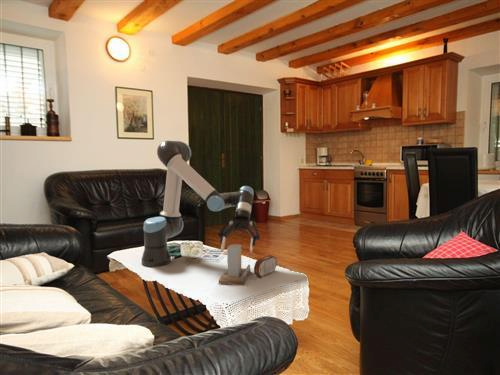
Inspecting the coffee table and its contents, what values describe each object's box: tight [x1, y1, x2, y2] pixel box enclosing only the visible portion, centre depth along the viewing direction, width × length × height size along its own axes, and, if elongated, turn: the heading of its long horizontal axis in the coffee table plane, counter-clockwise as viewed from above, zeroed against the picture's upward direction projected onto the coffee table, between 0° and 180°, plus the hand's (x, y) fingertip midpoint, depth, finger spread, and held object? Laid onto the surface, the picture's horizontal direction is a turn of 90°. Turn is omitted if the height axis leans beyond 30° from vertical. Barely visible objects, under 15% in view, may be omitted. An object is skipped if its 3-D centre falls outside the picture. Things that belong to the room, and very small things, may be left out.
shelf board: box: [218, 267, 251, 286], centre depth 163 cm, size 18×11×2 cm, turn 170°
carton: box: [226, 244, 242, 277], centre depth 162 cm, size 5×7×13 cm
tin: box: [253, 254, 278, 278], centre depth 166 cm, size 15×3×8 cm, turn 140°
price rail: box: [241, 264, 251, 282], centre depth 162 cm, size 18×1×2 cm, turn 170°
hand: (236, 250), depth 163 cm, fingers open, 13 cm apart
